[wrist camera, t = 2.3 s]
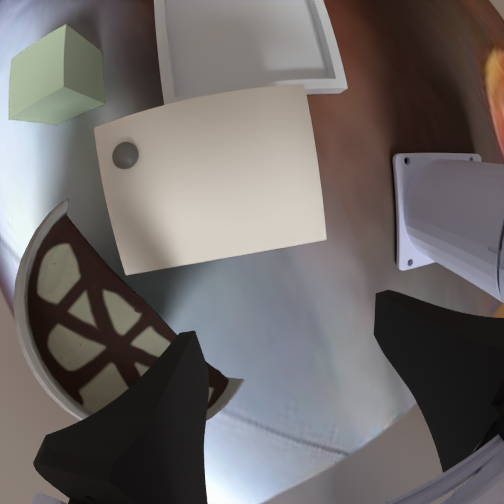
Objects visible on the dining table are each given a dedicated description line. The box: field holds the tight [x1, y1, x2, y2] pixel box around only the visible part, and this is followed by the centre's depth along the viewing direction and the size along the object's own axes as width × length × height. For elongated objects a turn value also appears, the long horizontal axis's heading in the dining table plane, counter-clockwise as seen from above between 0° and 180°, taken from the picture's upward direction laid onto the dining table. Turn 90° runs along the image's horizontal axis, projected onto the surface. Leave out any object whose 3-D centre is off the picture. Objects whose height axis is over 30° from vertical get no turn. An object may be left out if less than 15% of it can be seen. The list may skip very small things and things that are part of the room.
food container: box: [14, 199, 244, 421], centre depth 12 cm, size 12×6×10 cm
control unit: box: [94, 84, 327, 275], centre depth 12 cm, size 10×8×6 cm
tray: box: [154, 0, 348, 105], centre depth 12 cm, size 10×10×1 cm
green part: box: [9, 24, 105, 126], centre depth 10 cm, size 4×4×5 cm
